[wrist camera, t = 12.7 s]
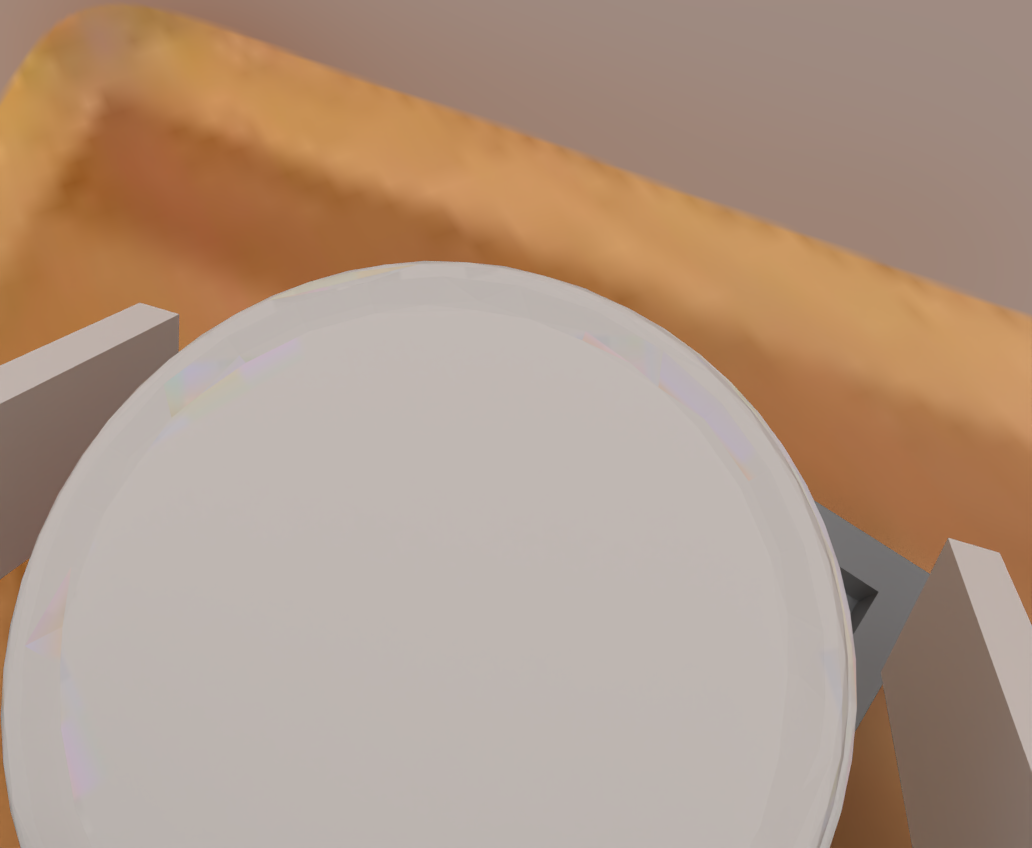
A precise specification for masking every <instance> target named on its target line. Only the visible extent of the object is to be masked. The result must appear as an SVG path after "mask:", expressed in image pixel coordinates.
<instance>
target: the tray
mask: <svg viewBox="0 0 1032 848" xmlns="http://www.w3.org/2000/svg"><path fill="white" fill-rule="evenodd" d="M814 502H815V504H816V506H817V509H818V511H819V513H820V515H821V517H822V519H823V522H824V524H825V526H826V529H827V532H828V535H829V538H830V541H831V544H832V547H833V549H834V552H835V555H836V558H837V561H838V564H839V567H840V571H841V575H842V580H843V584H844V588H845V593H846V597H847V601H848V606H849V610H850V616H851V624H852V632H853V640H854V648H855V656H856V693H857V712H856V723H855V731H856V729H857V728H858V726H859V724H860V722H861V721H862V719H863V717H864V715H865V714H866V712H867V710H868V708H869V707H870V705H871V703H872V701H873V700H874V698H875V696H876V694H877V693H878V691H879V689H880V688H881V686H882V684H883V682H882V676H881V671H882V669H883V667H884V665H885V663H886V661H887V659H888V657H889V655H890V653H891V651H892V649H893V647H894V645H895V643H896V641H897V639H898V637H899V635H900V633H901V631H902V629H903V627H904V625H905V623H906V621H907V619H908V617H909V615H910V613H911V611H912V609H913V607H914V605H915V603H916V601H917V599H918V597H919V595H920V593H921V591H922V589H923V587H924V585H925V583H926V581H927V579H928V577H929V575H930V574H929V573H927V572H926V571H924V570H923V569H921V568H920V567H918V566H916V565H915V564H913V563H912V562H910V561H909V560H907V559H905V558H904V557H902V556H901V555H899V554H897V553H896V552H894V551H893V550H891V549H890V548H888V547H886V546H885V545H883V544H882V543H880V542H879V541H877V540H875V539H874V538H872V537H871V536H869V535H868V534H866V533H864V532H863V531H861V530H860V529H858V528H857V527H855V526H853V525H852V524H850V523H849V522H847V521H846V520H844V519H842V518H841V517H839V516H838V515H836V514H835V513H833V512H831V511H830V510H828V509H827V508H825V507H824V506H822V505H820V504H819V503H817V502H816V501H814Z"/></svg>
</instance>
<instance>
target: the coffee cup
mask: <svg viewBox="0 0 1032 848" xmlns="http://www.w3.org/2000/svg"><path fill="white" fill-rule="evenodd" d="M856 712H857V693H856V656H855V648H854V640H853V632H852V624H851V616H850V610H849V606H848V601H847V597H846V593H845V588H844V584H843V580H842V575H841V571H840V567H839V564H838V561H837V558H836V555H835V552H834V549H833V547H832V544H831V541H830V538H829V535H828V532H827V529H826V526H825V524H824V522H823V519H822V517H821V515H820V513H819V511H818V509H817V506H816V504H815V502H814V500H813V498H812V496H811V493H810V491H809V489H808V487H807V485H806V483H805V481H804V480H803V478H802V476H801V475H800V473H799V471H798V470H797V468H796V466H795V465H794V463H793V461H792V459H791V458H790V456H789V454H788V453H787V451H786V449H785V448H784V446H783V445H782V444H781V442H780V441H779V439H778V438H777V437H776V435H775V434H774V433H773V431H772V430H771V429H770V427H769V426H768V425H767V423H766V422H765V421H764V419H763V418H762V417H761V415H760V414H759V413H758V411H757V410H756V409H755V408H754V407H753V406H752V405H751V404H750V403H749V402H748V400H747V399H746V398H745V397H744V396H743V395H742V394H741V393H740V392H739V391H738V389H737V388H736V387H735V386H734V385H733V384H732V383H731V382H730V381H729V380H728V379H727V378H726V377H725V376H723V375H722V374H721V373H720V372H719V371H718V370H717V369H716V368H714V367H713V366H712V365H711V364H710V363H709V362H708V361H707V360H706V359H704V358H703V357H702V356H701V355H700V354H699V353H697V352H696V351H695V350H693V349H692V348H690V347H689V346H688V345H686V344H685V343H684V342H682V341H681V340H679V339H678V338H677V337H675V336H674V335H673V334H671V333H670V332H668V331H667V330H666V329H664V328H662V327H660V326H659V325H657V324H655V323H653V322H652V321H650V320H648V319H646V318H645V317H643V316H641V315H639V314H638V313H636V312H634V311H633V310H631V309H629V308H627V307H624V306H622V305H620V304H618V303H615V302H613V301H611V300H609V299H607V298H604V297H602V296H600V295H598V294H596V293H594V292H591V291H589V290H587V289H585V288H582V287H579V286H576V285H572V284H569V283H566V282H563V281H559V280H556V279H553V278H549V277H546V276H543V275H539V274H534V273H530V272H526V271H522V270H518V269H514V268H510V267H506V266H497V265H487V264H477V263H467V262H442V261H420V262H409V263H398V264H388V265H381V266H375V267H369V268H363V269H357V270H351V271H346V272H342V273H339V274H335V275H332V276H328V277H325V278H322V279H318V280H315V281H311V282H308V283H305V284H303V285H300V286H297V287H295V288H292V289H289V290H287V291H284V292H281V293H279V294H276V295H273V296H271V297H269V298H267V299H265V300H263V301H261V302H259V303H257V304H255V305H253V306H251V307H249V308H247V309H245V310H243V311H241V312H239V313H237V314H235V315H233V316H232V317H230V318H229V319H227V320H225V321H224V322H222V323H220V324H219V325H217V326H215V327H214V328H212V329H211V330H209V331H207V332H206V333H204V334H202V335H201V336H200V337H198V338H197V339H196V340H194V341H193V342H192V343H190V344H189V345H188V346H186V347H185V348H184V349H182V350H181V351H180V352H178V353H177V354H176V355H174V356H173V357H172V358H170V359H169V360H168V361H167V362H166V363H165V364H164V365H162V366H161V367H160V368H159V369H158V370H157V371H156V372H155V373H154V374H152V375H151V376H150V377H149V378H148V379H147V380H146V381H145V382H144V383H143V384H141V385H140V386H139V387H138V388H137V389H136V390H135V391H134V393H133V394H132V395H131V396H130V397H129V398H128V399H127V400H126V401H125V402H124V404H123V405H122V406H121V407H120V408H119V409H118V410H117V411H116V412H115V413H114V415H113V416H112V417H111V418H110V419H109V420H108V421H107V423H106V424H105V425H104V427H103V428H102V429H101V431H100V432H99V433H98V435H97V436H96V437H95V439H94V440H93V441H92V443H91V444H90V445H89V447H88V448H87V449H86V451H85V452H84V453H83V455H82V456H81V458H80V460H79V461H78V463H77V464H76V466H75V468H74V469H73V471H72V473H71V474H70V476H69V477H68V479H67V481H66V482H65V484H64V486H63V487H62V489H61V491H60V492H59V494H58V496H57V498H56V500H55V502H54V504H53V506H52V508H51V510H50V512H49V514H48V517H47V519H46V521H45V523H44V525H43V527H42V529H41V531H40V533H39V535H38V538H37V541H36V543H35V546H34V549H33V551H32V554H31V557H30V560H29V562H28V565H27V568H26V570H25V573H24V576H23V579H22V582H21V586H20V590H19V594H18V597H17V601H16V605H15V609H14V613H13V617H12V620H11V624H10V631H9V637H8V644H7V650H6V657H5V664H4V671H3V688H2V706H1V728H2V746H3V764H4V770H5V777H6V784H7V791H8V797H9V804H10V811H11V814H12V818H13V822H14V825H15V829H16V833H17V836H18V840H19V843H20V847H21V848H830V845H831V842H832V839H833V836H834V833H835V830H836V827H837V824H838V820H839V817H840V814H841V811H842V806H843V801H844V797H845V792H846V787H847V782H848V777H849V772H850V767H851V763H852V755H853V744H854V733H855V723H856Z"/></svg>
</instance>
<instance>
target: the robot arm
mask: <svg viewBox="0 0 1032 848" xmlns="http://www.w3.org/2000/svg"><path fill="white" fill-rule="evenodd" d="M178 346H179V314H177V313H173V312H170V311H166V310H163V309H160V308H156V307H153V306H149V305H146V304H142V303H138V304H136V305H134V306H132V307H129V308H127V309H125V310H123V311H120V312H118V313H116V314H114V315H112V316H109V317H107V318H105V319H103V320H101V321H98V322H96V323H94V324H92V325H89V326H87V327H85V328H83V329H81V330H78V331H76V332H74V333H72V334H69V335H67V336H65V337H63V338H61V339H58V340H56V341H54V342H52V343H50V344H47V345H45V346H43V347H41V348H38V349H36V350H34V351H32V352H30V353H27V354H25V355H23V356H21V357H18V358H16V359H14V360H12V361H10V362H7V363H5V364H3V365H1V366H0V579H1V578H3V577H4V576H5V575H7V574H8V573H9V572H11V571H12V570H14V569H15V568H16V567H18V566H19V565H20V564H22V563H23V562H25V561H26V560H27V559H29V558H30V557H31V554H32V551H33V549H34V546H35V543H36V541H37V538H38V535H39V533H40V531H41V529H42V527H43V525H44V523H45V521H46V519H47V517H48V514H49V512H50V510H51V508H52V506H53V504H54V502H55V500H56V498H57V496H58V494H59V492H60V491H61V489H62V487H63V486H64V484H65V482H66V481H67V479H68V477H69V476H70V474H71V473H72V471H73V469H74V468H75V466H76V464H77V463H78V461H79V460H80V458H81V456H82V455H83V453H84V452H85V451H86V449H87V448H88V447H89V445H90V444H91V443H92V441H93V440H94V439H95V437H96V436H97V435H98V433H99V432H100V431H101V429H102V428H103V427H104V425H105V424H106V423H107V421H108V420H109V419H110V418H111V417H112V416H113V415H114V413H115V412H116V411H117V410H118V409H119V408H120V407H121V406H122V405H123V404H124V402H125V401H126V400H127V399H128V398H129V397H130V396H131V395H132V394H133V393H134V391H135V390H136V389H137V388H138V387H139V386H140V385H141V384H143V383H144V382H145V381H146V380H147V379H148V378H149V377H150V376H151V375H152V374H154V373H155V372H156V371H157V370H158V369H159V368H160V367H161V366H162V365H164V364H165V363H166V362H167V361H168V360H169V359H170V358H172V357H173V356H174V355H176V354H177V353H178ZM881 676H882V682H883V687H884V693H885V699H886V704H887V710H888V715H889V721H890V726H891V732H892V738H893V743H894V749H895V754H896V760H897V765H898V771H899V776H900V782H901V788H902V793H903V799H904V804H905V810H906V815H907V821H908V827H909V832H910V838H911V843H912V848H1032V625H1031V623H1030V620H1029V618H1028V616H1027V614H1026V611H1025V609H1024V607H1023V605H1022V602H1021V600H1020V598H1019V596H1018V593H1017V591H1016V589H1015V587H1014V584H1013V582H1012V580H1011V578H1010V575H1009V573H1008V571H1007V569H1006V566H1005V564H1004V562H1003V560H1002V557H1001V555H1000V553H999V552H995V551H992V550H988V549H985V548H981V547H978V546H974V545H971V544H968V543H964V542H961V541H957V540H954V539H950V538H948V539H947V541H946V543H945V545H944V547H943V549H942V551H941V553H940V555H939V557H938V559H937V561H936V563H935V565H934V567H933V569H932V571H931V573H930V575H929V577H928V579H927V581H926V583H925V585H924V587H923V589H922V591H921V593H920V595H919V597H918V599H917V601H916V603H915V605H914V607H913V609H912V611H911V613H910V615H909V617H908V619H907V621H906V623H905V625H904V627H903V629H902V631H901V633H900V635H899V637H898V639H897V641H896V643H895V645H894V647H893V649H892V651H891V653H890V655H889V657H888V659H887V661H886V663H885V665H884V667H883V669H882V671H881Z"/></svg>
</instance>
